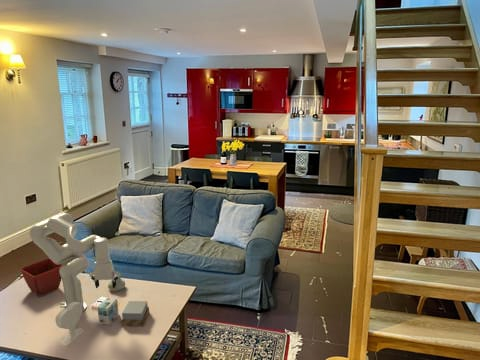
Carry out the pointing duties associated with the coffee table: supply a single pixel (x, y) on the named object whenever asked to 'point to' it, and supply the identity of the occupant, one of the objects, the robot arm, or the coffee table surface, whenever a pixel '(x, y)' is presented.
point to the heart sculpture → (70, 320)
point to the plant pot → (42, 276)
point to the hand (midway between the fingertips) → (106, 286)
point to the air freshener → (117, 284)
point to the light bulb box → (108, 311)
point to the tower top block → (135, 310)
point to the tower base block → (136, 321)
